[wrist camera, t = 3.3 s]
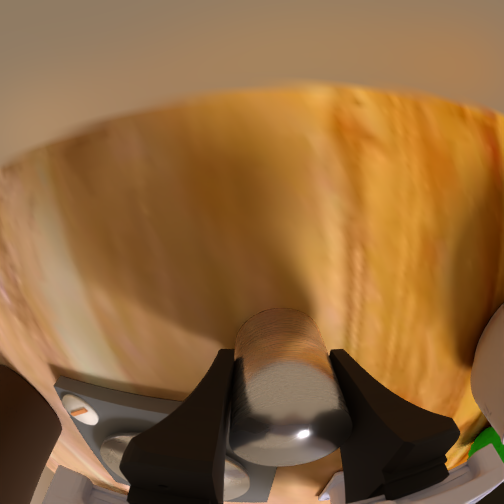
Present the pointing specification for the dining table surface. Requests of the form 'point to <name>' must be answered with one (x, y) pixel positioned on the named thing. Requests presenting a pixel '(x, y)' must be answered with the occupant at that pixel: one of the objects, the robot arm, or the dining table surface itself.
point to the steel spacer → (285, 392)
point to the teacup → (490, 372)
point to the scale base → (138, 426)
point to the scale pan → (117, 443)
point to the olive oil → (23, 437)
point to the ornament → (488, 442)
